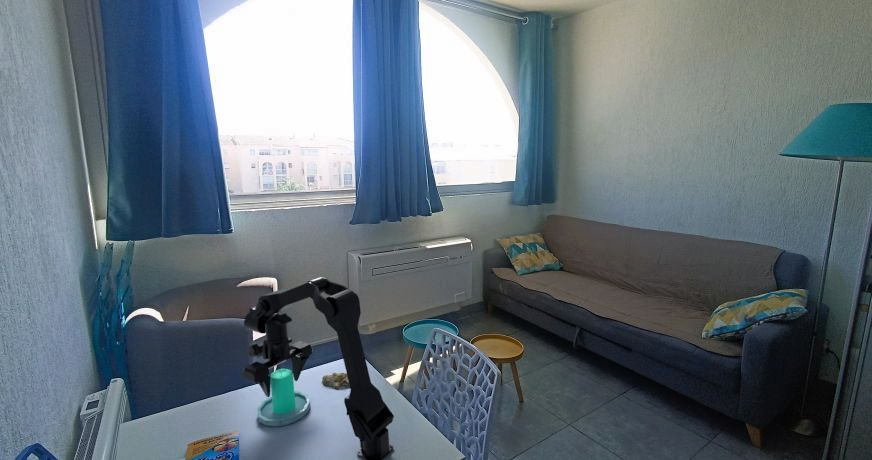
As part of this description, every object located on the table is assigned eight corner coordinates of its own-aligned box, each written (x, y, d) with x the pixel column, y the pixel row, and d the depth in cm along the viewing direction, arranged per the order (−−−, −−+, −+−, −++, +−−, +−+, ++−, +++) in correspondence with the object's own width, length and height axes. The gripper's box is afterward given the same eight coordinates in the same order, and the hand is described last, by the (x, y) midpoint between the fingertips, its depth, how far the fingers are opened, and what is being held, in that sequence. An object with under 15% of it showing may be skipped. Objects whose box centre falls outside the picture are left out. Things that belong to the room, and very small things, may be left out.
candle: (287, 415, 109) (283, 375, 107) (268, 412, 111) (264, 373, 108) (299, 402, 115) (296, 364, 113) (281, 400, 116) (278, 362, 114)
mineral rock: (358, 368, 132) (351, 375, 124) (358, 382, 131) (351, 389, 123) (326, 369, 132) (317, 375, 124) (326, 383, 132) (317, 390, 124)
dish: (320, 406, 115) (320, 399, 115) (279, 434, 103) (278, 427, 103) (289, 392, 122) (288, 386, 122) (247, 417, 111) (246, 410, 110)
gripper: (287, 319, 121) (291, 366, 124) (227, 343, 106) (234, 396, 108) (311, 326, 115) (315, 375, 118) (252, 353, 100) (259, 409, 102)
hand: (282, 388), depth 112 cm, fingers open, 9 cm apart
